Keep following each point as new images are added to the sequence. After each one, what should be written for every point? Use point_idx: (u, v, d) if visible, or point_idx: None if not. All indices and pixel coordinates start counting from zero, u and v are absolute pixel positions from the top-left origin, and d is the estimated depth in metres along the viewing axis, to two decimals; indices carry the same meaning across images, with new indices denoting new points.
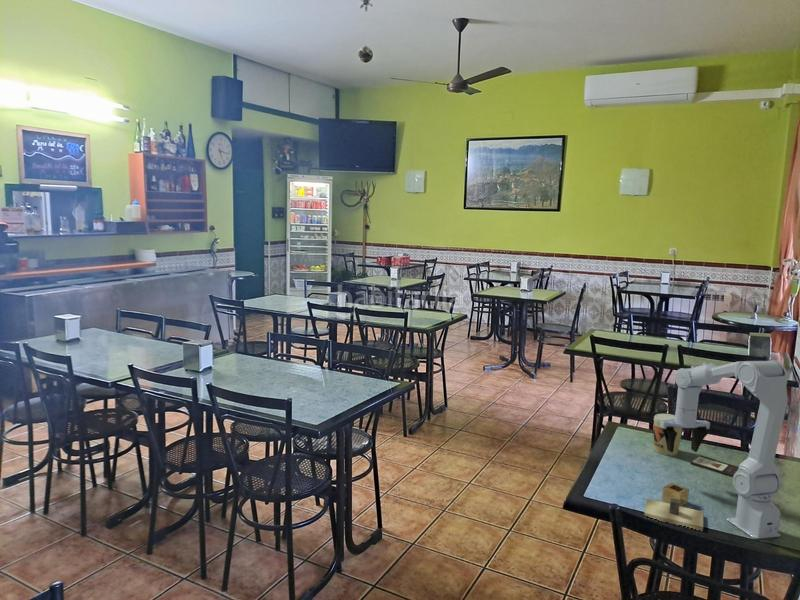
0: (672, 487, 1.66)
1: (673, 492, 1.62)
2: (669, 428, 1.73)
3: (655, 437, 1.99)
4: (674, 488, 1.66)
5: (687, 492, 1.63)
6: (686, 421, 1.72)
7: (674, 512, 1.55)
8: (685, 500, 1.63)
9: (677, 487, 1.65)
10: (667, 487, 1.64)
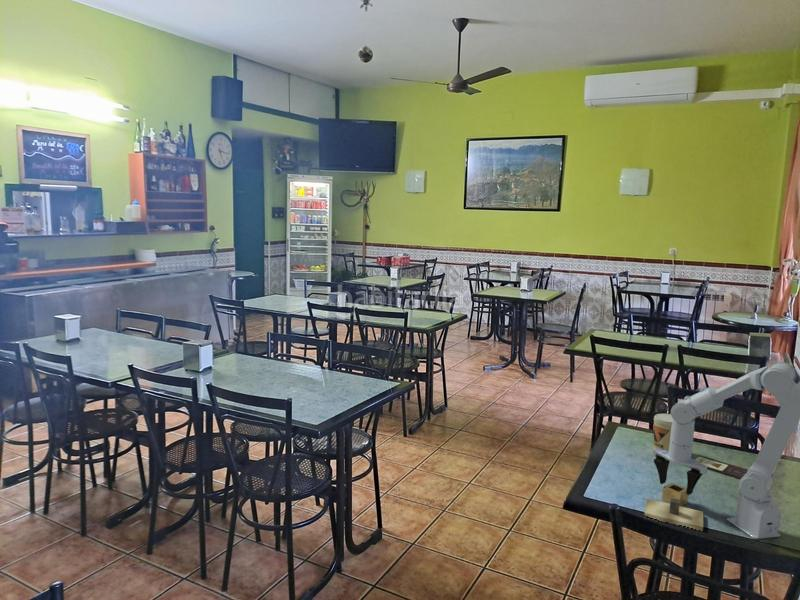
0: (672, 487, 1.66)
1: (673, 492, 1.62)
2: (659, 457, 1.66)
3: (655, 437, 1.99)
4: (674, 488, 1.66)
5: None
6: (671, 454, 1.62)
7: (674, 512, 1.55)
8: (685, 500, 1.63)
9: (677, 487, 1.65)
10: (667, 487, 1.64)
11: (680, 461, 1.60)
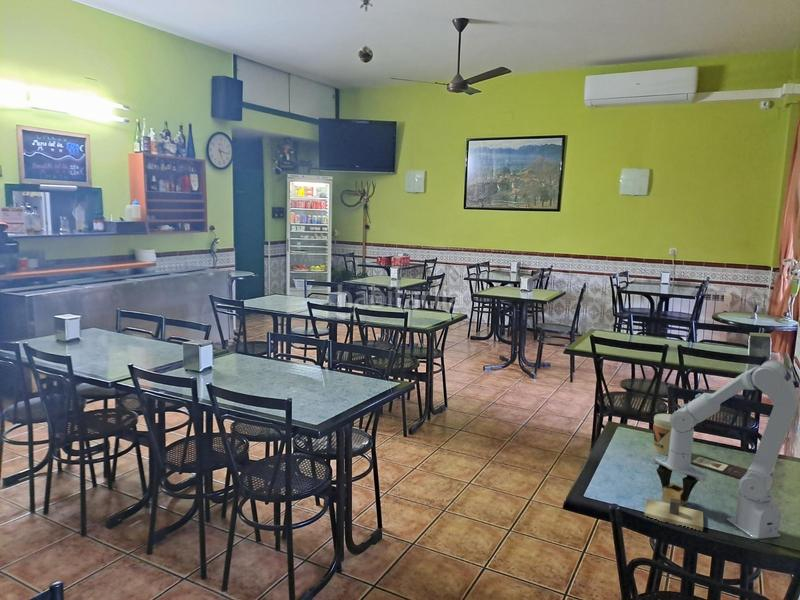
0: (672, 487, 1.66)
1: (673, 492, 1.62)
2: None
3: (655, 437, 1.99)
4: (674, 488, 1.66)
5: None
6: (670, 462, 1.62)
7: (674, 512, 1.55)
8: None
9: (677, 487, 1.65)
10: (667, 487, 1.64)
11: (679, 469, 1.60)
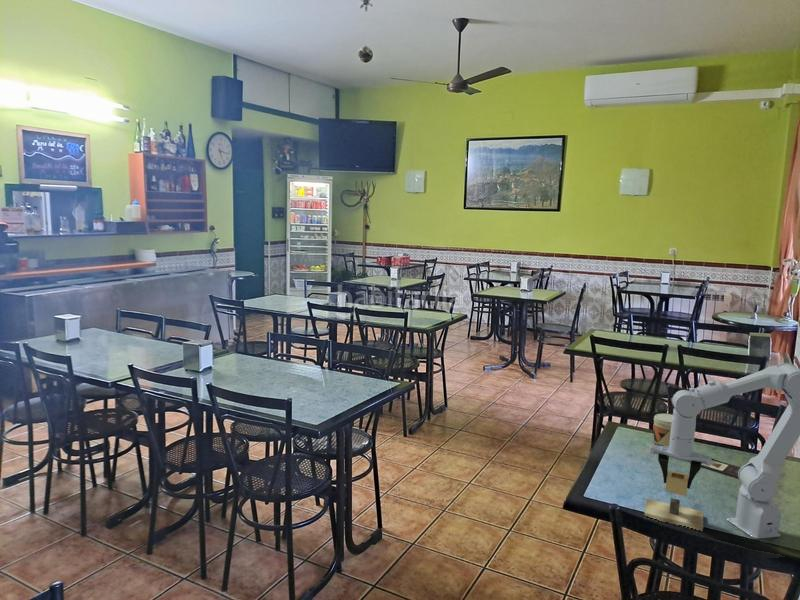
0: (671, 475, 1.57)
1: (679, 481, 1.53)
2: (658, 455, 1.56)
3: (655, 437, 1.99)
4: (673, 476, 1.57)
5: None
6: (675, 450, 1.52)
7: (674, 512, 1.55)
8: None
9: (676, 474, 1.57)
10: (670, 476, 1.55)
11: (686, 456, 1.51)
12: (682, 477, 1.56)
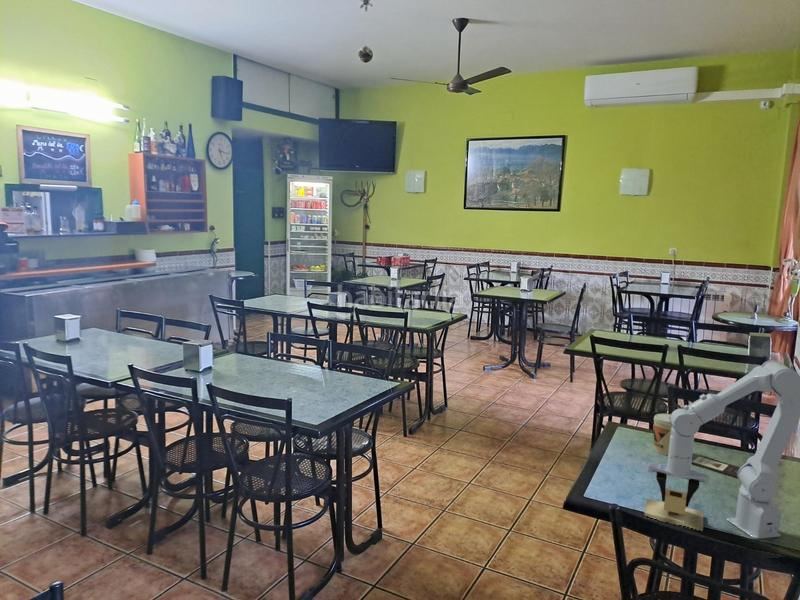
0: (669, 493, 1.57)
1: (677, 499, 1.53)
2: None
3: (655, 437, 1.99)
4: (671, 494, 1.57)
5: None
6: (673, 469, 1.52)
7: (674, 512, 1.55)
8: None
9: (674, 492, 1.57)
10: (668, 495, 1.55)
11: (684, 475, 1.51)
12: (680, 495, 1.56)
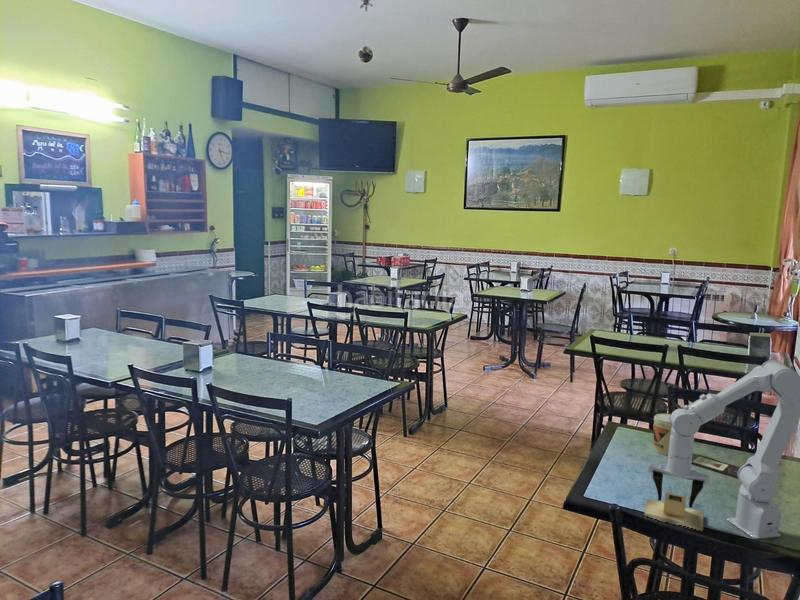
0: (669, 497, 1.57)
1: (677, 503, 1.53)
2: (656, 473, 1.56)
3: (655, 437, 1.99)
4: (670, 498, 1.57)
5: (685, 500, 1.56)
6: (673, 469, 1.52)
7: None
8: None
9: (673, 496, 1.57)
10: (667, 499, 1.55)
11: (684, 475, 1.51)
12: (679, 499, 1.56)
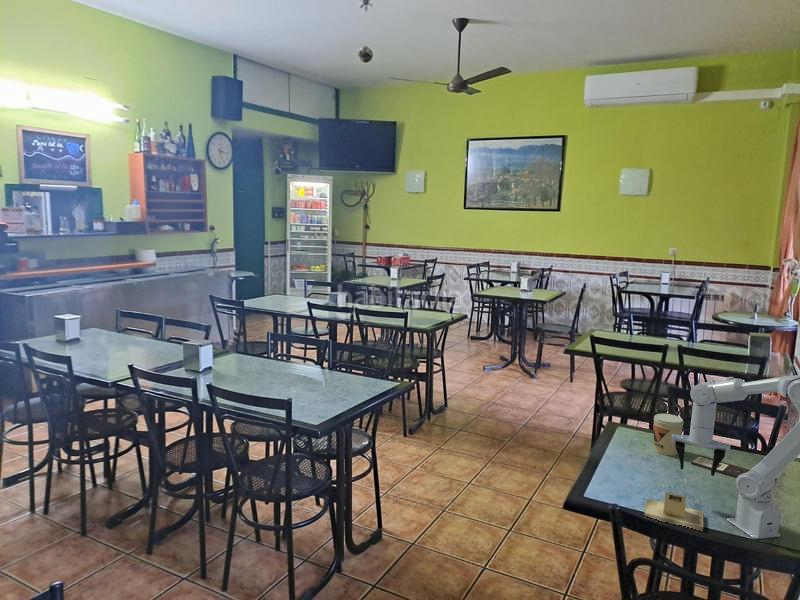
0: (669, 497, 1.57)
1: (677, 503, 1.53)
2: (679, 443, 1.63)
3: (655, 437, 1.99)
4: (670, 498, 1.57)
5: (685, 500, 1.56)
6: (696, 438, 1.59)
7: None
8: None
9: (673, 496, 1.57)
10: (667, 499, 1.55)
11: (707, 444, 1.58)
12: (679, 499, 1.56)
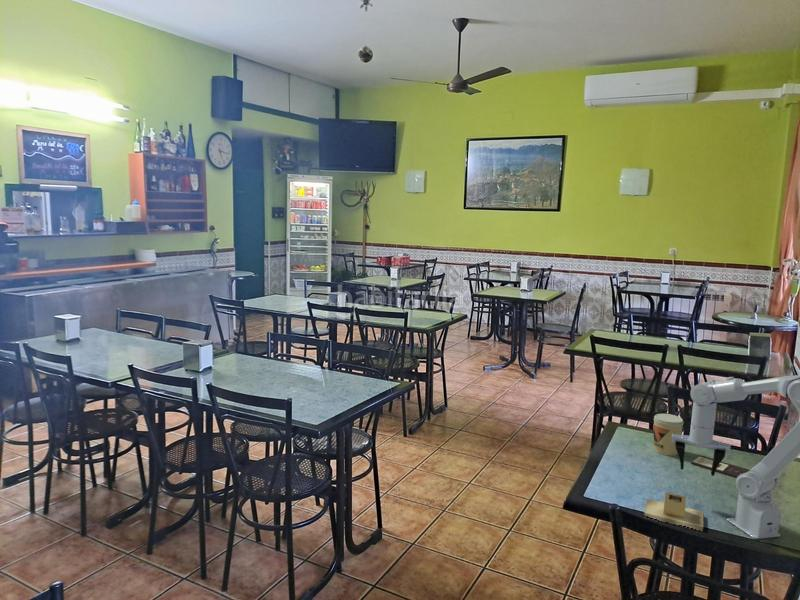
0: (669, 497, 1.57)
1: (677, 503, 1.53)
2: (679, 443, 1.63)
3: (655, 437, 1.99)
4: (670, 498, 1.57)
5: (685, 500, 1.56)
6: (696, 438, 1.60)
7: None
8: None
9: (673, 496, 1.57)
10: (667, 499, 1.55)
11: (707, 444, 1.58)
12: (679, 499, 1.56)
